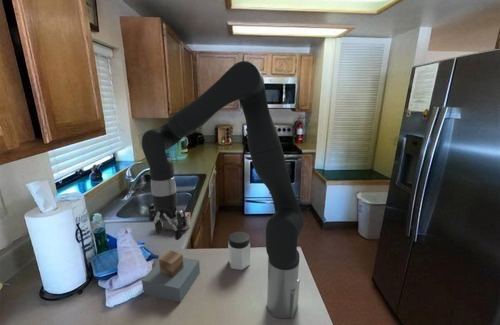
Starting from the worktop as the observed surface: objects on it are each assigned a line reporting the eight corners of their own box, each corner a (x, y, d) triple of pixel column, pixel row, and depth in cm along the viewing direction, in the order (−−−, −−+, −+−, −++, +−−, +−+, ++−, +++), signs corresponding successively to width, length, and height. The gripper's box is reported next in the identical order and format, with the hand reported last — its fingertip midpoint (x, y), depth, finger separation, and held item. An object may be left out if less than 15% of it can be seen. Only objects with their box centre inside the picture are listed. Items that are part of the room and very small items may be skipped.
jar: (227, 258, 98) (226, 232, 95) (245, 254, 100) (245, 229, 97) (231, 272, 90) (231, 245, 86) (252, 268, 92) (252, 241, 89)
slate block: (199, 273, 89) (199, 260, 88) (180, 303, 76) (179, 288, 75) (167, 267, 93) (166, 254, 91) (143, 295, 80) (141, 280, 78)
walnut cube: (183, 267, 84) (182, 254, 83) (172, 277, 79) (171, 263, 78) (171, 263, 86) (170, 250, 85) (160, 272, 81) (158, 259, 80)
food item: (192, 224, 124) (191, 207, 121) (187, 233, 116) (186, 215, 114) (168, 223, 125) (166, 206, 123) (161, 231, 117) (159, 213, 115)
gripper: (189, 190, 75) (192, 235, 79) (157, 184, 81) (161, 225, 86) (172, 198, 69) (177, 247, 73) (138, 191, 75) (144, 236, 79)
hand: (168, 235), depth 79 cm, fingers open, 8 cm apart
